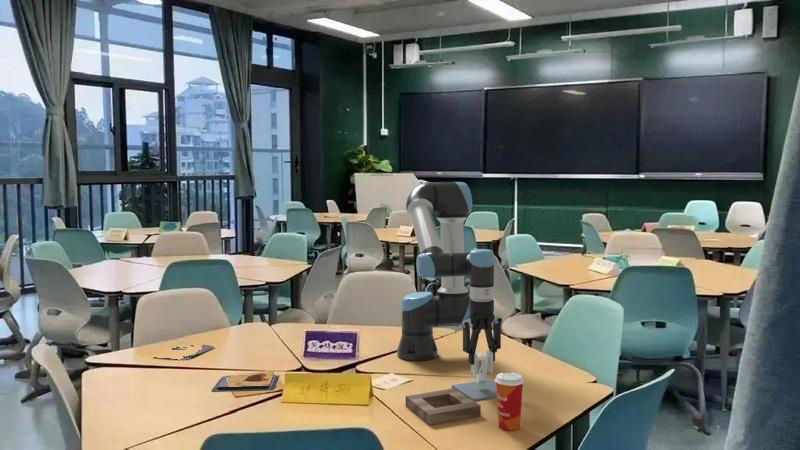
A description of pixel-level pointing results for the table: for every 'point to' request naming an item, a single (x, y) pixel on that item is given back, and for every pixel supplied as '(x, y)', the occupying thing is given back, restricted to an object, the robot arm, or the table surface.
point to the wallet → (223, 386)
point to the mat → (477, 390)
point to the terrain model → (204, 349)
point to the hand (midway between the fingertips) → (482, 372)
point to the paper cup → (509, 400)
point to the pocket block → (457, 411)
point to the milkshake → (481, 368)
